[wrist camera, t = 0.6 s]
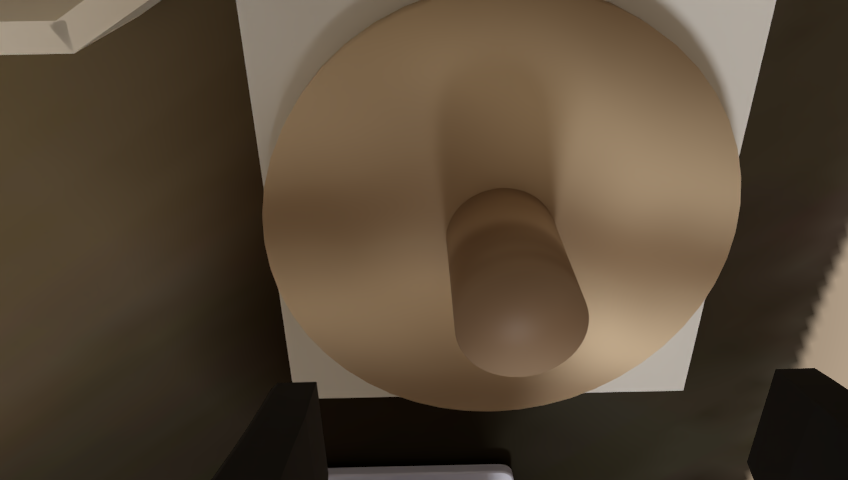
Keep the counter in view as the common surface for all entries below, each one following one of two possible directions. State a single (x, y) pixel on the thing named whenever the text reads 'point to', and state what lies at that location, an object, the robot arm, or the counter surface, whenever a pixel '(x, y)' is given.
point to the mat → (367, 3)
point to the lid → (501, 200)
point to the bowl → (62, 23)
